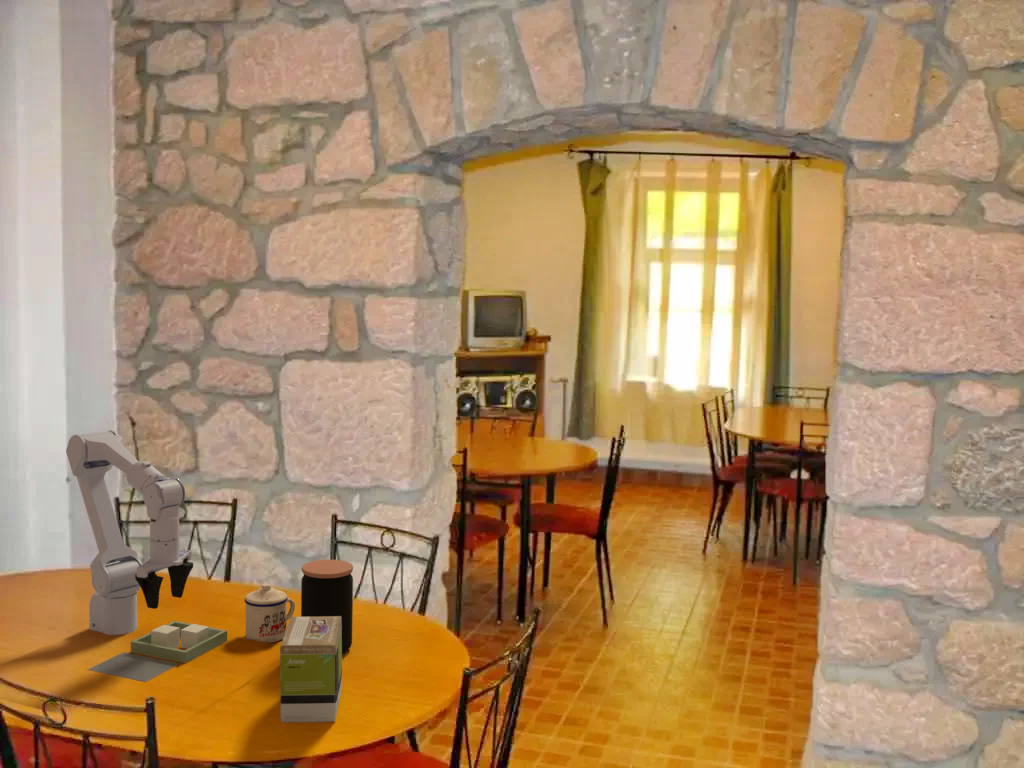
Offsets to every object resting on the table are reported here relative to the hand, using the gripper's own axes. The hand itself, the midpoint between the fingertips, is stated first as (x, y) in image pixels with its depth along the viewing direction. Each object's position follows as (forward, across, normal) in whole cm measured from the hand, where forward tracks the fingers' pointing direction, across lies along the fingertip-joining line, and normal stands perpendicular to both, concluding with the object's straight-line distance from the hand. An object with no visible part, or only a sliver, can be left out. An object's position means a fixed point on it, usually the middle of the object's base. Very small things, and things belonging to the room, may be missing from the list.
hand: (165, 602), depth 212 cm
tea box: (+11, -10, -42) cm, 44 cm away
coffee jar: (+10, +15, -30) cm, 35 cm away
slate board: (+10, -11, -2) cm, 15 cm away
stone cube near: (+10, 0, 0) cm, 10 cm away
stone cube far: (+10, +3, -5) cm, 11 cm away
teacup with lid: (+11, +17, -14) cm, 25 cm away
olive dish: (+10, +2, -2) cm, 11 cm away
